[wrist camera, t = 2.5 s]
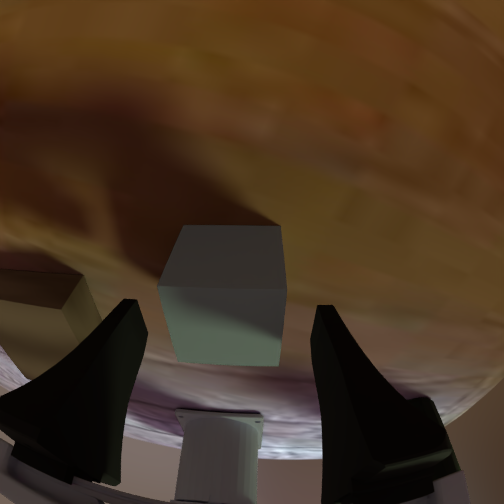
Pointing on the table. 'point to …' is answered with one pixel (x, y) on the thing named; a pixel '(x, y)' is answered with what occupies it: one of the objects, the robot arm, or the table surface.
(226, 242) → the gray cube
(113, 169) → the table surface
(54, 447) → the robot arm
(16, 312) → the base block
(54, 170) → the table surface
